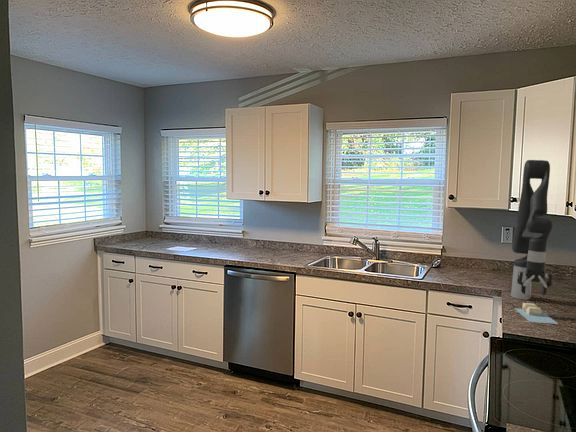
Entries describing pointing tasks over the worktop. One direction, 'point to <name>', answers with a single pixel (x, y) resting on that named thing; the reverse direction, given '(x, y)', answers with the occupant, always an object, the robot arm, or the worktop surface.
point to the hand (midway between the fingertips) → (533, 294)
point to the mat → (536, 317)
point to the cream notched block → (531, 309)
